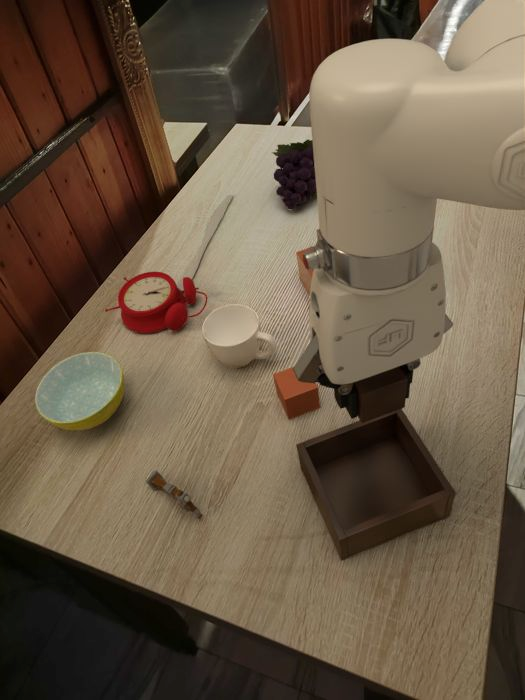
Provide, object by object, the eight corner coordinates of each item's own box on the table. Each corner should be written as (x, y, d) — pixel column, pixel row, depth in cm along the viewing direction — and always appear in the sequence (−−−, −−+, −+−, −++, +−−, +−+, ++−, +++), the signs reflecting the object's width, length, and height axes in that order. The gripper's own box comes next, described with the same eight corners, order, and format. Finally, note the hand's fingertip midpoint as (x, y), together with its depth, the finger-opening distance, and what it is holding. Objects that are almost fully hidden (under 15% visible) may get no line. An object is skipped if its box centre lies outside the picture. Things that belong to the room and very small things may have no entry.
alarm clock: (123, 268, 87) (202, 256, 81) (143, 295, 91) (219, 286, 85) (96, 315, 81) (179, 306, 75) (119, 341, 85) (199, 336, 79)
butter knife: (168, 288, 87) (185, 289, 86) (222, 194, 104) (236, 194, 103) (169, 291, 88) (186, 292, 87) (223, 197, 104) (237, 197, 103)
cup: (226, 332, 80) (216, 299, 75) (288, 344, 76) (283, 311, 71) (204, 371, 75) (192, 339, 70) (269, 386, 72) (262, 354, 67)
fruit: (278, 225, 100) (289, 164, 106) (333, 218, 96) (341, 156, 102) (258, 187, 92) (271, 124, 98) (318, 178, 88) (327, 113, 94)
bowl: (139, 435, 70) (122, 408, 65) (53, 457, 70) (30, 432, 65) (135, 370, 78) (120, 342, 73) (57, 390, 77) (38, 363, 73)
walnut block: (383, 373, 53) (384, 344, 49) (405, 407, 50) (407, 378, 46) (342, 388, 52) (340, 359, 49) (361, 423, 49) (361, 395, 46)
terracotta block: (307, 383, 72) (304, 362, 68) (320, 407, 69) (318, 387, 65) (277, 394, 71) (272, 374, 68) (288, 419, 68) (284, 399, 65)
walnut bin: (397, 431, 65) (399, 404, 61) (449, 516, 57) (456, 492, 53) (300, 468, 63) (295, 444, 59) (341, 560, 56) (339, 540, 52)
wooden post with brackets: (200, 526, 60) (179, 501, 57) (164, 503, 66) (144, 479, 64) (211, 514, 60) (190, 488, 58) (174, 492, 66) (155, 468, 64)
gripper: (279, 318, 34) (304, 460, 48) (517, 236, 36) (475, 396, 49) (245, 251, 39) (276, 397, 52) (455, 182, 40) (433, 341, 54)
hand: (373, 395), depth 51 cm, fingers closed on walnut block, 4 cm apart
